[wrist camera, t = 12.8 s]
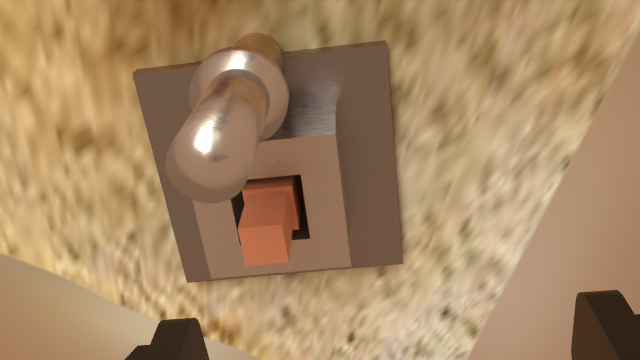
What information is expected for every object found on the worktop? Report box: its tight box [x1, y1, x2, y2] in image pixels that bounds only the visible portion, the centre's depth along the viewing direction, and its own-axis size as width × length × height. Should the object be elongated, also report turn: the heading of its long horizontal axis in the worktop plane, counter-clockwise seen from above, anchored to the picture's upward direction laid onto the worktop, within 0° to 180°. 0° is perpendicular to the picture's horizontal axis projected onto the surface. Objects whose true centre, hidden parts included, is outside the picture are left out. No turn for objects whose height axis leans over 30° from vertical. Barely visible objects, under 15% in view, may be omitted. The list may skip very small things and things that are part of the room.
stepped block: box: [238, 174, 303, 266], centre depth 37 cm, size 3×3×9 cm
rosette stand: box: [133, 33, 403, 282], centre depth 34 cm, size 18×16×17 cm
